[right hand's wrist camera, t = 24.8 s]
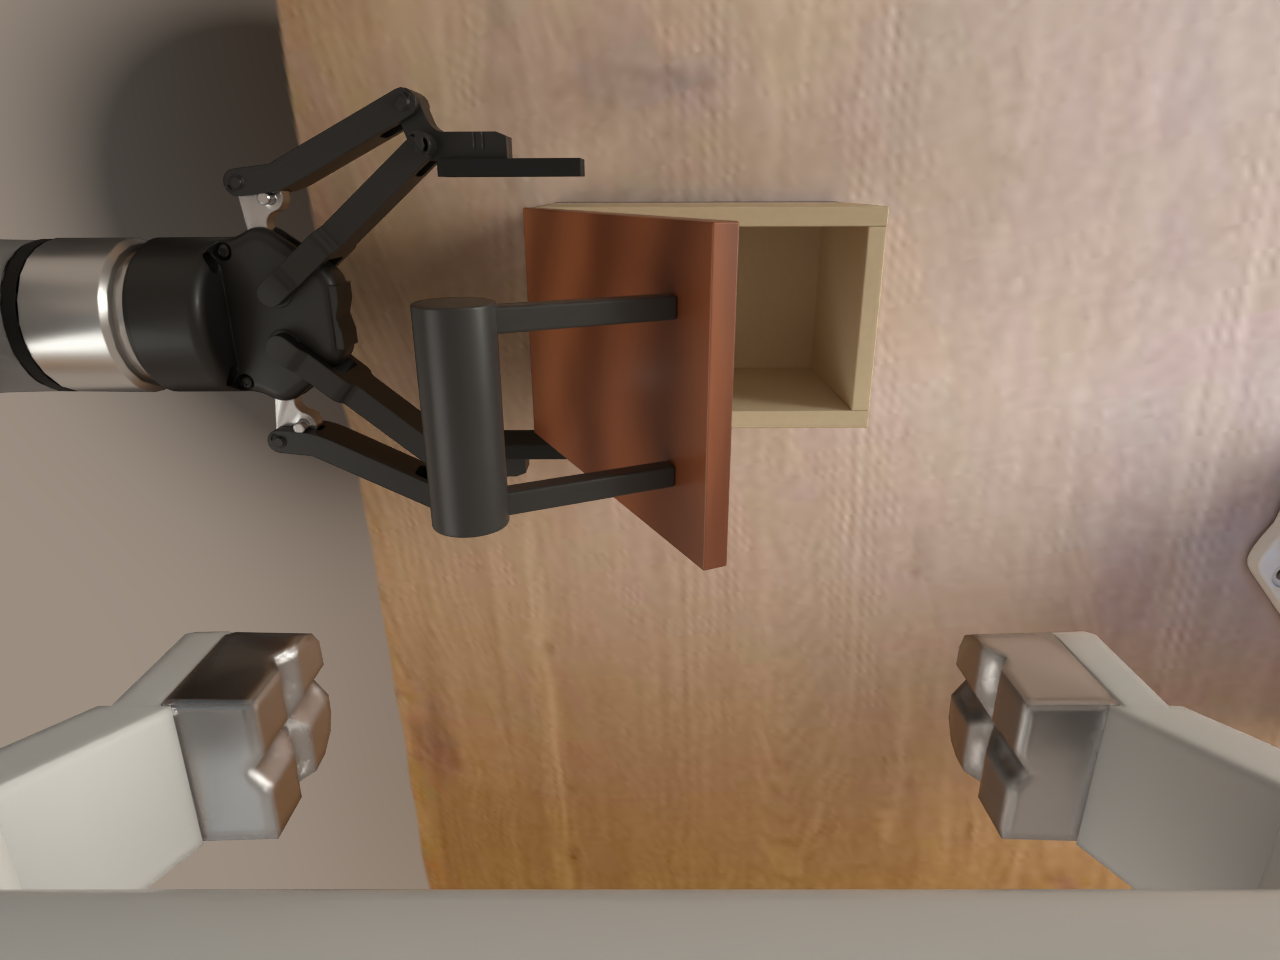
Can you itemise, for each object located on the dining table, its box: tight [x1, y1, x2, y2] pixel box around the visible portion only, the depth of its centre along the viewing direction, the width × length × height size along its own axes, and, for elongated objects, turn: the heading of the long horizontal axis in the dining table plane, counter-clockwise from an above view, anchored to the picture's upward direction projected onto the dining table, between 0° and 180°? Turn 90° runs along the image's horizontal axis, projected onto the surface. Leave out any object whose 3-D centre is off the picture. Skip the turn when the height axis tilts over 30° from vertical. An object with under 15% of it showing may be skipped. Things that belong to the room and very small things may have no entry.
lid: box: [410, 208, 739, 570], centre depth 28 cm, size 16×10×8 cm
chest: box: [534, 202, 889, 428], centre depth 42 cm, size 16×10×10 cm, turn 90°
